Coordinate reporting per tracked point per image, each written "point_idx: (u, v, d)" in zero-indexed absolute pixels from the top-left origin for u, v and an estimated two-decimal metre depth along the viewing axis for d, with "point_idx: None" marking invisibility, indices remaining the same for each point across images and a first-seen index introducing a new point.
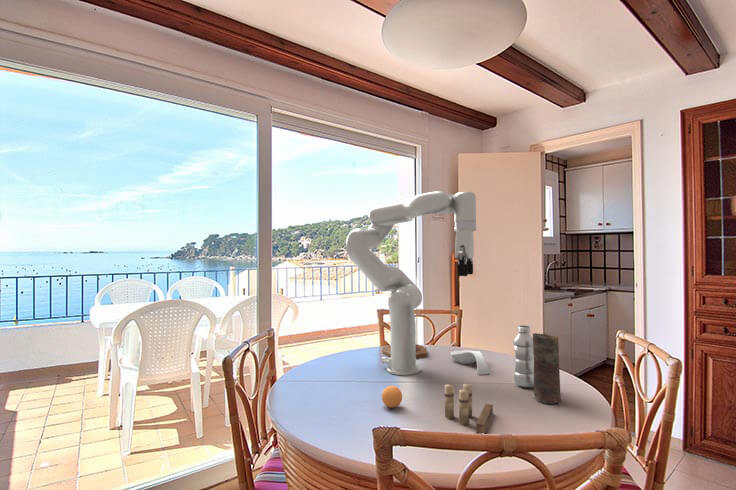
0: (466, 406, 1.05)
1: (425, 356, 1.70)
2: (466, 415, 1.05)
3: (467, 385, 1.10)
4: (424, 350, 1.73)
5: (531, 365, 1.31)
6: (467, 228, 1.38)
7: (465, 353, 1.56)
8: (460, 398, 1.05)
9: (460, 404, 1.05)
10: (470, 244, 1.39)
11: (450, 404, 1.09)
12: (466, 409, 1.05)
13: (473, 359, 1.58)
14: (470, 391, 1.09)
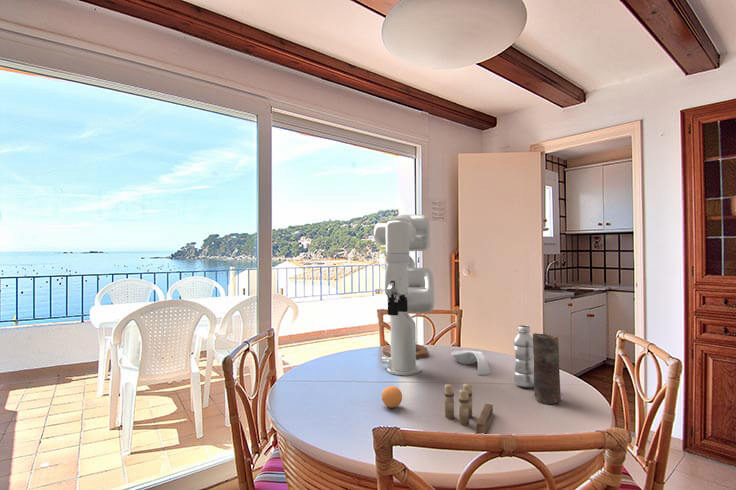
0: (466, 406, 1.05)
1: (426, 356, 1.70)
2: (466, 415, 1.05)
3: (467, 385, 1.10)
4: (425, 350, 1.73)
5: (531, 365, 1.31)
6: (398, 261, 1.24)
7: (466, 353, 1.56)
8: (460, 398, 1.05)
9: (460, 404, 1.05)
10: (402, 279, 1.24)
11: (450, 404, 1.09)
12: (466, 409, 1.05)
13: (474, 359, 1.58)
14: (470, 391, 1.09)
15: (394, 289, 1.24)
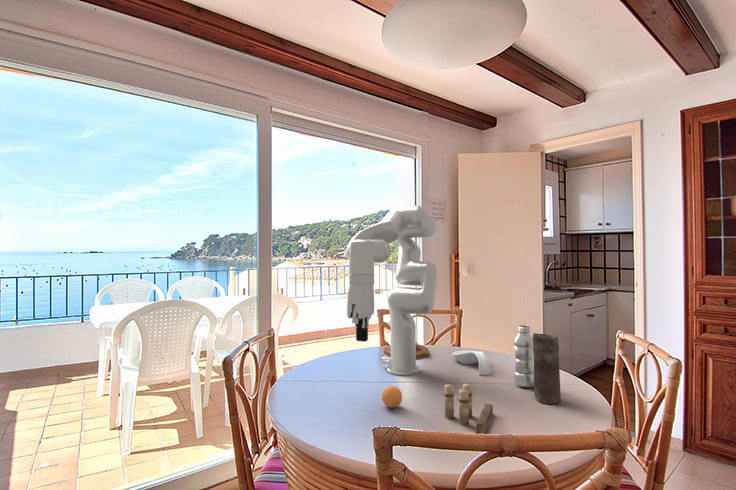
0: (466, 406, 1.05)
1: (427, 356, 1.70)
2: (466, 415, 1.05)
3: (467, 385, 1.10)
4: (426, 350, 1.73)
5: (531, 365, 1.31)
6: (361, 283, 1.18)
7: (467, 353, 1.55)
8: (460, 398, 1.05)
9: (460, 404, 1.05)
10: (364, 302, 1.18)
11: (450, 404, 1.09)
12: (465, 409, 1.05)
13: (475, 359, 1.57)
14: (470, 391, 1.09)
15: None
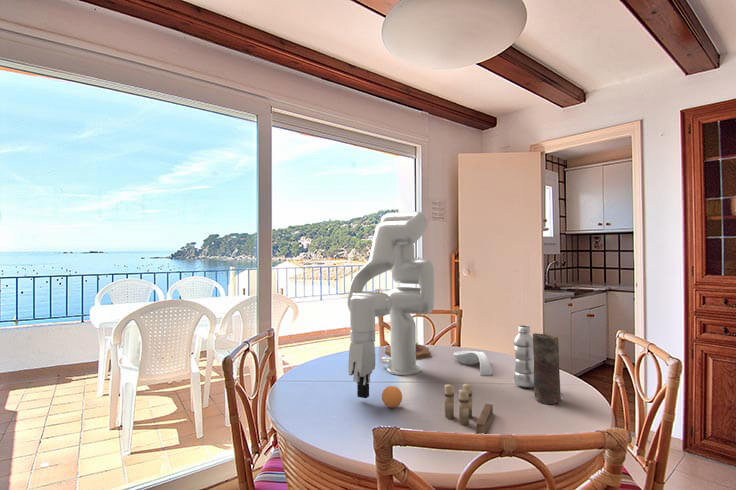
0: (466, 406, 1.05)
1: (428, 356, 1.70)
2: (466, 415, 1.05)
3: (467, 385, 1.10)
4: (427, 350, 1.73)
5: (531, 365, 1.31)
6: (362, 341, 1.18)
7: (468, 354, 1.55)
8: (460, 398, 1.05)
9: (460, 404, 1.05)
10: (365, 359, 1.18)
11: (450, 404, 1.09)
12: (465, 409, 1.05)
13: (476, 360, 1.57)
14: (470, 391, 1.09)
15: None
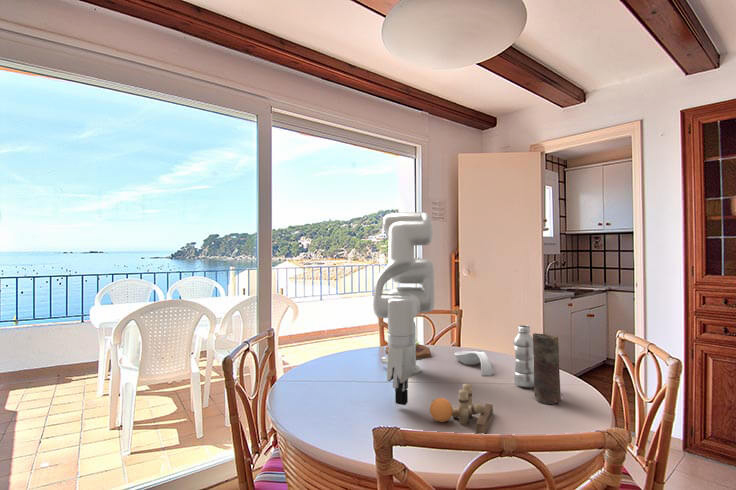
0: (466, 406, 1.05)
1: (428, 356, 1.70)
2: (466, 415, 1.05)
3: (467, 385, 1.10)
4: (427, 350, 1.73)
5: (531, 365, 1.31)
6: (401, 345, 1.13)
7: (469, 354, 1.55)
8: (460, 398, 1.05)
9: (460, 404, 1.05)
10: (405, 365, 1.13)
11: None
12: (465, 409, 1.05)
13: (477, 360, 1.57)
14: (470, 391, 1.09)
15: None
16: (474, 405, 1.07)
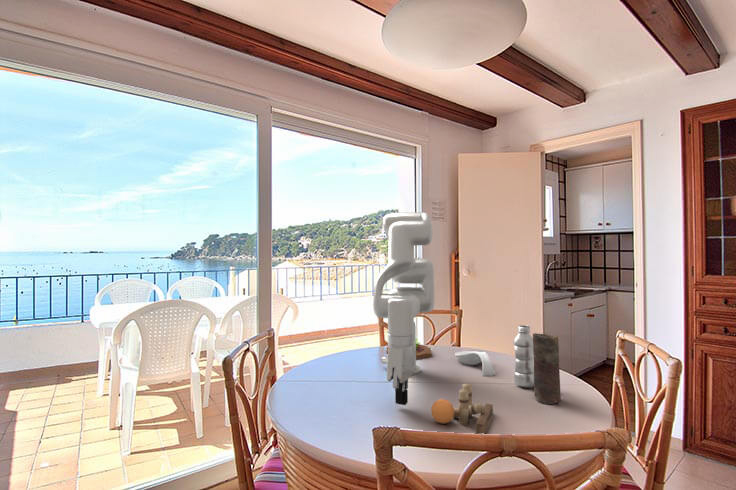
0: (466, 406, 1.05)
1: (429, 356, 1.70)
2: (466, 415, 1.05)
3: (467, 385, 1.10)
4: (428, 350, 1.73)
5: (531, 365, 1.31)
6: (401, 345, 1.13)
7: (470, 354, 1.54)
8: (460, 398, 1.05)
9: (460, 404, 1.05)
10: (405, 365, 1.13)
11: None
12: (466, 409, 1.05)
13: (478, 360, 1.57)
14: (470, 391, 1.09)
15: None
16: (474, 405, 1.07)
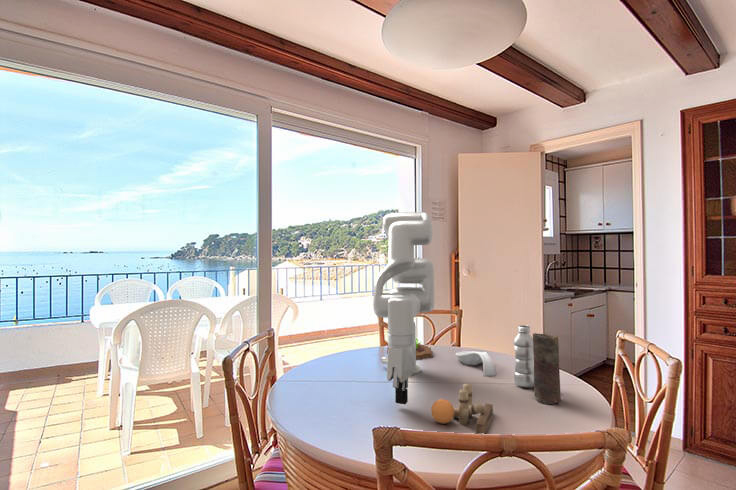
0: (466, 406, 1.05)
1: (430, 356, 1.70)
2: (466, 415, 1.05)
3: (467, 385, 1.10)
4: (429, 350, 1.73)
5: (531, 365, 1.31)
6: (401, 345, 1.13)
7: (471, 354, 1.54)
8: (460, 398, 1.05)
9: (460, 404, 1.05)
10: (405, 364, 1.13)
11: None
12: (465, 409, 1.05)
13: (479, 360, 1.56)
14: (470, 391, 1.10)
15: None
16: (474, 405, 1.07)
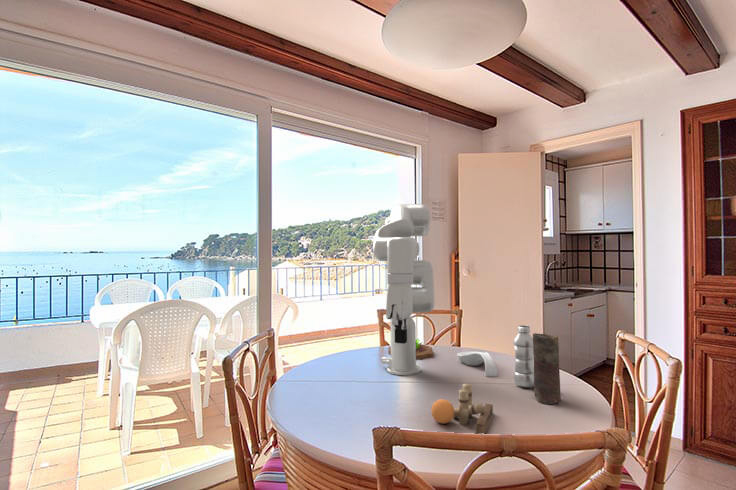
0: (466, 406, 1.05)
1: (431, 356, 1.70)
2: (466, 415, 1.05)
3: (467, 385, 1.10)
4: (430, 350, 1.73)
5: (531, 365, 1.31)
6: (401, 283, 1.13)
7: (472, 354, 1.54)
8: (460, 398, 1.05)
9: (460, 404, 1.05)
10: (404, 302, 1.13)
11: None
12: (465, 409, 1.05)
13: (480, 360, 1.56)
14: (470, 391, 1.10)
15: None
16: (474, 405, 1.07)
